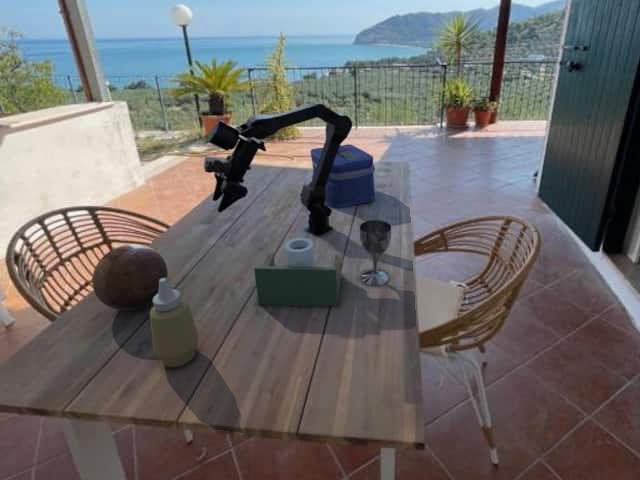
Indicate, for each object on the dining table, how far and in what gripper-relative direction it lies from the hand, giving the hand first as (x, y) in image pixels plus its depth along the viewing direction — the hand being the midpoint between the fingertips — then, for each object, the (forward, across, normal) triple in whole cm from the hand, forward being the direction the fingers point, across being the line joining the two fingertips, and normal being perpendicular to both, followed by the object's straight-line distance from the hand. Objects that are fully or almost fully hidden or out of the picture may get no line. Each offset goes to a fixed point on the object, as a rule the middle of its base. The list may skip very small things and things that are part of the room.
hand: (216, 205), depth 110 cm
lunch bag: (-16, -26, +51) cm, 60 cm away
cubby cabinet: (+5, +29, +20) cm, 36 cm away
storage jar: (+5, +29, +20) cm, 36 cm away
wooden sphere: (+25, +16, -10) cm, 31 cm away
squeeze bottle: (+21, +39, -4) cm, 45 cm away
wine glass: (-6, +33, +36) cm, 49 cm away
